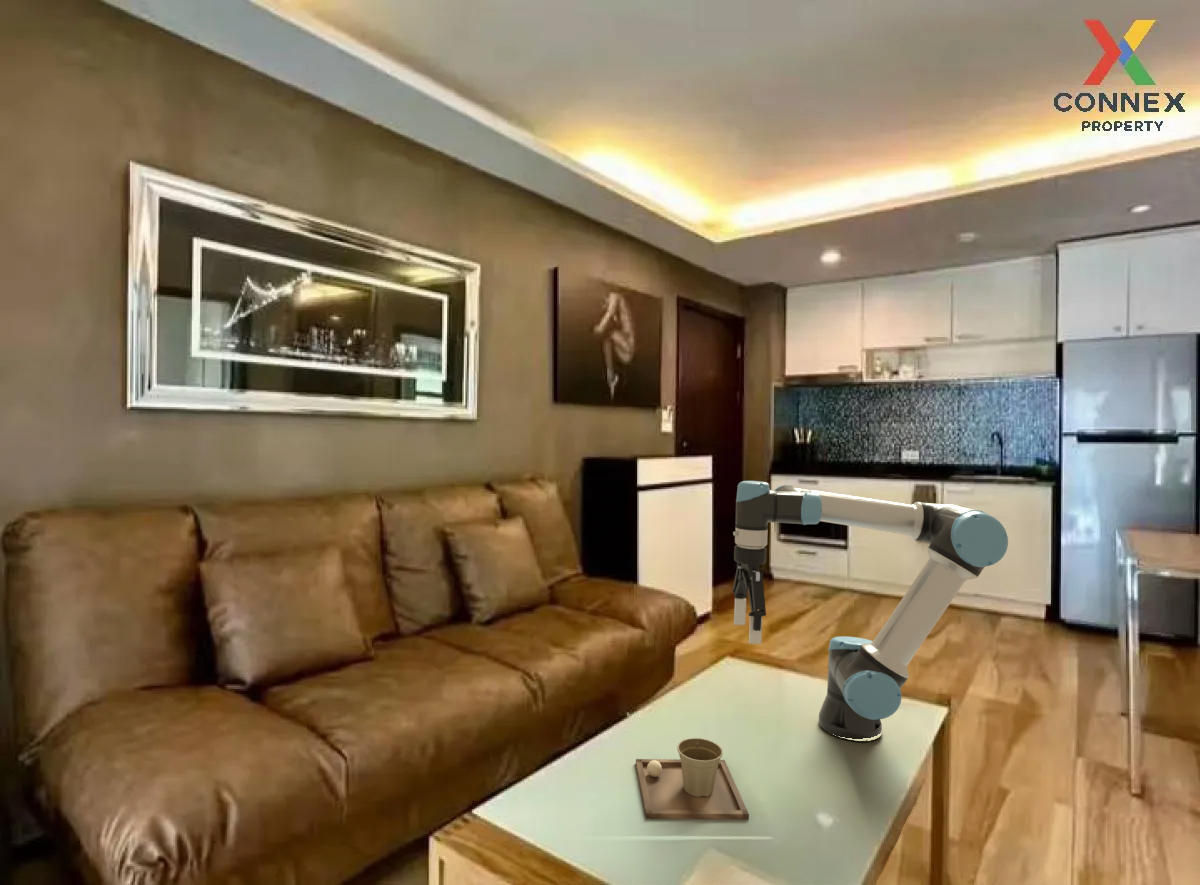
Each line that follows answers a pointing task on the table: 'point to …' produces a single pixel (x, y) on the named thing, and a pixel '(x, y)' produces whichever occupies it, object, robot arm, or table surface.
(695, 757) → the flower pot
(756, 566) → the robot arm
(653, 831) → the table surface
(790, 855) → the table surface
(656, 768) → the cream white ball
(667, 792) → the tray
